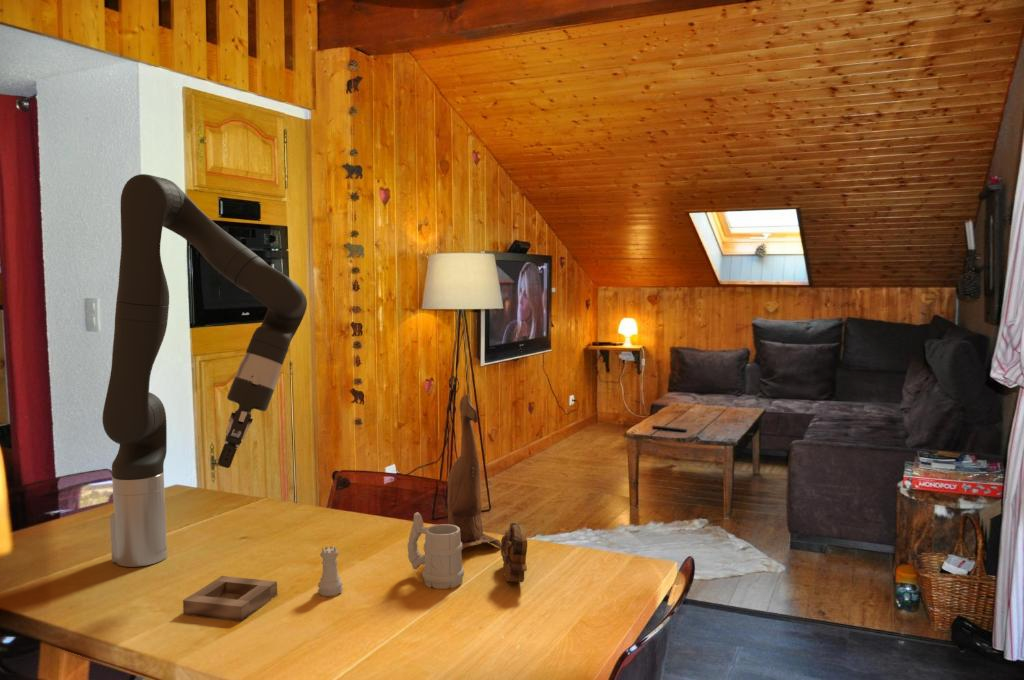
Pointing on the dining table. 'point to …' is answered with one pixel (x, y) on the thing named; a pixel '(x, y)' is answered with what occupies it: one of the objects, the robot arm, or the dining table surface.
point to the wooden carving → (514, 552)
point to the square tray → (230, 598)
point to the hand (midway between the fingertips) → (223, 465)
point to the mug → (437, 553)
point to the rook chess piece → (329, 573)
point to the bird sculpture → (467, 484)
